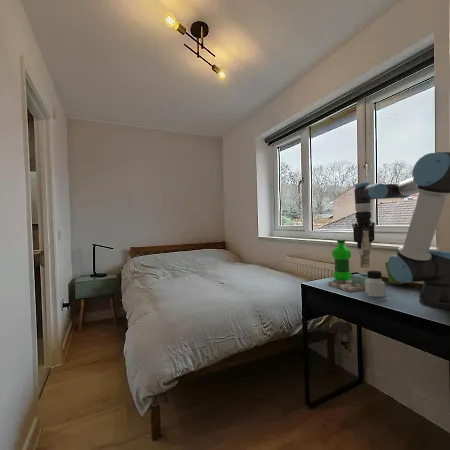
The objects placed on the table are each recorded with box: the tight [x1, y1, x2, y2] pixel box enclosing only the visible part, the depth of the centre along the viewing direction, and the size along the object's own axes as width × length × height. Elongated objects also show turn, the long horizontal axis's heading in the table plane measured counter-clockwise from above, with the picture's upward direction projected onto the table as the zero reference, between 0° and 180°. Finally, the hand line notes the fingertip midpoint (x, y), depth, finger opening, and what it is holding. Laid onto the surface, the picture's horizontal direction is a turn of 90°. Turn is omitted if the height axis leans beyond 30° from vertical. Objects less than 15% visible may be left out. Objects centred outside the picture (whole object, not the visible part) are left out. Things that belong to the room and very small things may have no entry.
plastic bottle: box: [331, 238, 352, 281], centre depth 161 cm, size 10×10×25 cm
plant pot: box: [383, 261, 406, 285], centre depth 152 cm, size 12×12×11 cm
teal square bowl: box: [351, 272, 368, 285], centre depth 150 cm, size 10×10×6 cm
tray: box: [328, 280, 365, 293], centre depth 148 cm, size 16×11×2 cm
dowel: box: [359, 230, 371, 269], centre depth 149 cm, size 4×4×20 cm
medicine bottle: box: [364, 269, 386, 298], centre depth 134 cm, size 7×7×12 cm
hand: (364, 254), depth 149 cm, fingers closed on dowel, 4 cm apart
